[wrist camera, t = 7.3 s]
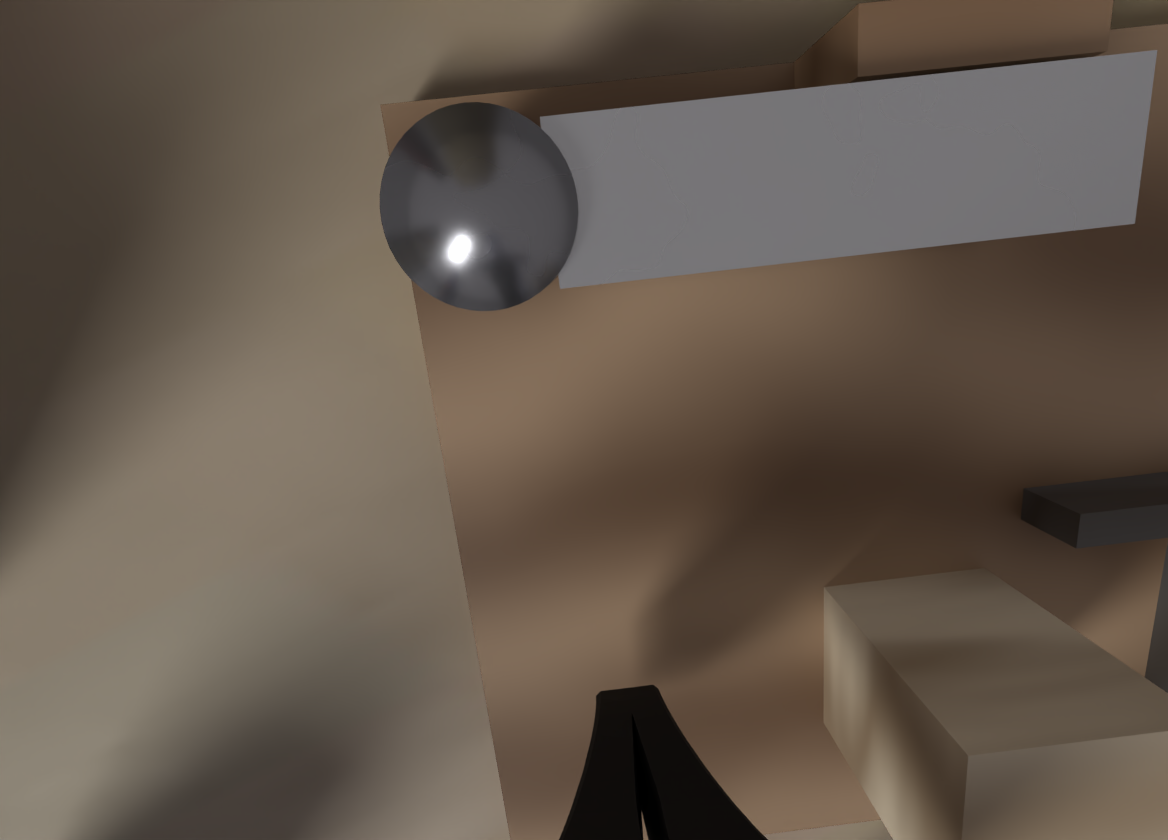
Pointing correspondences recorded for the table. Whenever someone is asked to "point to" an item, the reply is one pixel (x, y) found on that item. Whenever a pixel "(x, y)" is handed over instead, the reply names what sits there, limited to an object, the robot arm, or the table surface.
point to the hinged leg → (762, 177)
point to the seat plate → (802, 442)
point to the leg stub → (989, 715)
